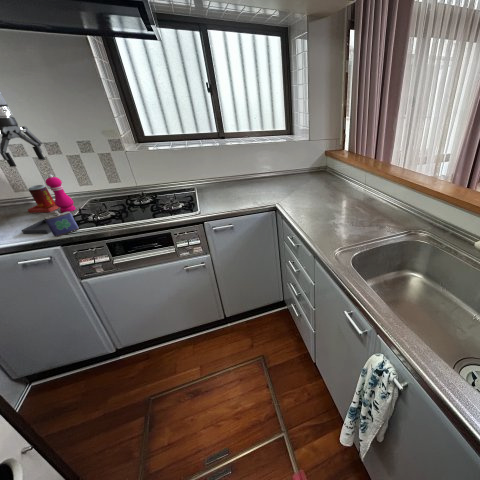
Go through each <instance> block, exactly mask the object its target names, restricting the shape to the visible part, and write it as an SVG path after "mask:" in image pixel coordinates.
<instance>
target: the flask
mask: <svg viewBox="0 0 480 480" xmlns="http://www.w3.org/2000/svg"><path fill="white" fill-rule="evenodd" d="M43 220H45V221H46V223H47V225H48V226H49V228H50V230H51V233H52V235H53V236H54V237H56V238H57V237H61V236H64V235H66V234H65V233H67V234H69V233H68V232H70V233H72V232H71V231H73V232H75V231H74V230H76V231H78V230H80V227H79V226H78V224H77V222H76V220H75V218H74V216H73V214H72V213H71V212H64V213H62V212H61V213H60V212H59V211H58V210H54V211H53V214H51V215H48V216H46V217H44V218H43Z"/></svg>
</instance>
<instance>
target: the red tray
mask: <svg viewBox="0 0 480 480" xmlns="http://www.w3.org/2000/svg"><path fill="white" fill-rule="evenodd" d="M54 202H55V200H54ZM58 209H60V207H58V206H56V203H55V206H53V207H51V208H49V209H41V208H39V207H38V205H37V204H36V205H34V206H32V207H30V208H27V209H26V210H27V211H28V213H30V214H33V213H53V212H55V211H57V210H58Z"/></svg>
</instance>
